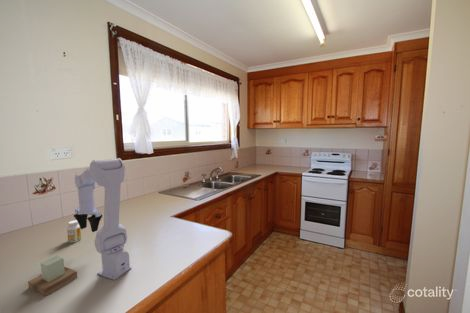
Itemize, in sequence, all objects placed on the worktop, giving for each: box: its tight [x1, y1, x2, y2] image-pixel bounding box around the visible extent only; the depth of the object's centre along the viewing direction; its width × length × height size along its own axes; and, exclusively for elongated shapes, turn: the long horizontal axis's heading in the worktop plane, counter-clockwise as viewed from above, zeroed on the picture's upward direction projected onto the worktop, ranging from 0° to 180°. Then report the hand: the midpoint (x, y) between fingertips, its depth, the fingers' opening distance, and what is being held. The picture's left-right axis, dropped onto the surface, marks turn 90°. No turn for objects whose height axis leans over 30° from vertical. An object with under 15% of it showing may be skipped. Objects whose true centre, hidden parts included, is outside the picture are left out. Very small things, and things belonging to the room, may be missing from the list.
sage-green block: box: [40, 255, 65, 282], centre depth 78 cm, size 4×5×6 cm
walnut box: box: [27, 266, 78, 296], centre depth 79 cm, size 10×10×3 cm
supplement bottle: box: [66, 219, 82, 243], centre depth 109 cm, size 5×5×10 cm
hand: (89, 229), depth 98 cm, fingers open, 7 cm apart
